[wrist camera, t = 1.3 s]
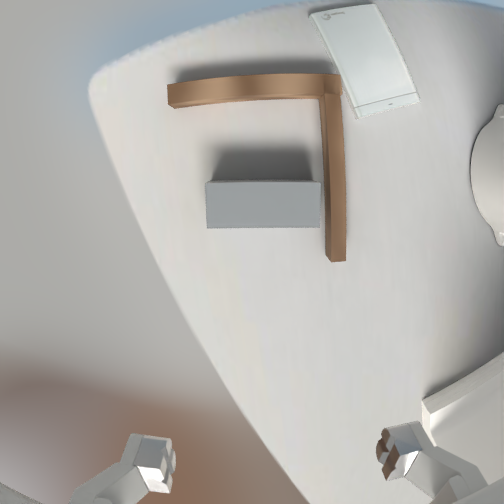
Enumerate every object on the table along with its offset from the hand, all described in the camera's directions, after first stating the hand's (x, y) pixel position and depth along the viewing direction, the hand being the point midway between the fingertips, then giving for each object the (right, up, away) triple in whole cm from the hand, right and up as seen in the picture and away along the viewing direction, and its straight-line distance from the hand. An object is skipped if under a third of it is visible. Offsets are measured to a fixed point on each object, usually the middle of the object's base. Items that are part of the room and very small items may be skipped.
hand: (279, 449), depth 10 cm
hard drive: (+11, +28, +17) cm, 34 cm away
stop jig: (0, +15, +20) cm, 25 cm away
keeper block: (0, +12, +21) cm, 24 cm away
